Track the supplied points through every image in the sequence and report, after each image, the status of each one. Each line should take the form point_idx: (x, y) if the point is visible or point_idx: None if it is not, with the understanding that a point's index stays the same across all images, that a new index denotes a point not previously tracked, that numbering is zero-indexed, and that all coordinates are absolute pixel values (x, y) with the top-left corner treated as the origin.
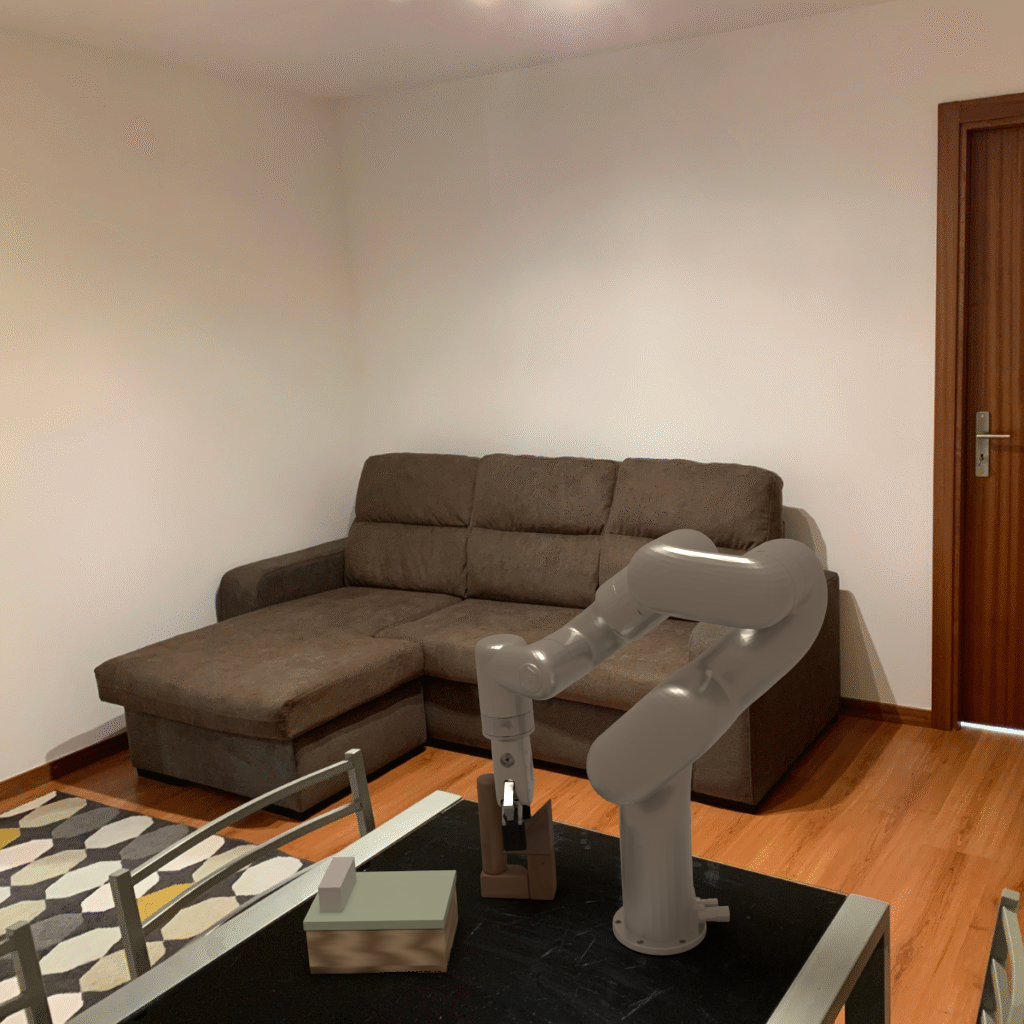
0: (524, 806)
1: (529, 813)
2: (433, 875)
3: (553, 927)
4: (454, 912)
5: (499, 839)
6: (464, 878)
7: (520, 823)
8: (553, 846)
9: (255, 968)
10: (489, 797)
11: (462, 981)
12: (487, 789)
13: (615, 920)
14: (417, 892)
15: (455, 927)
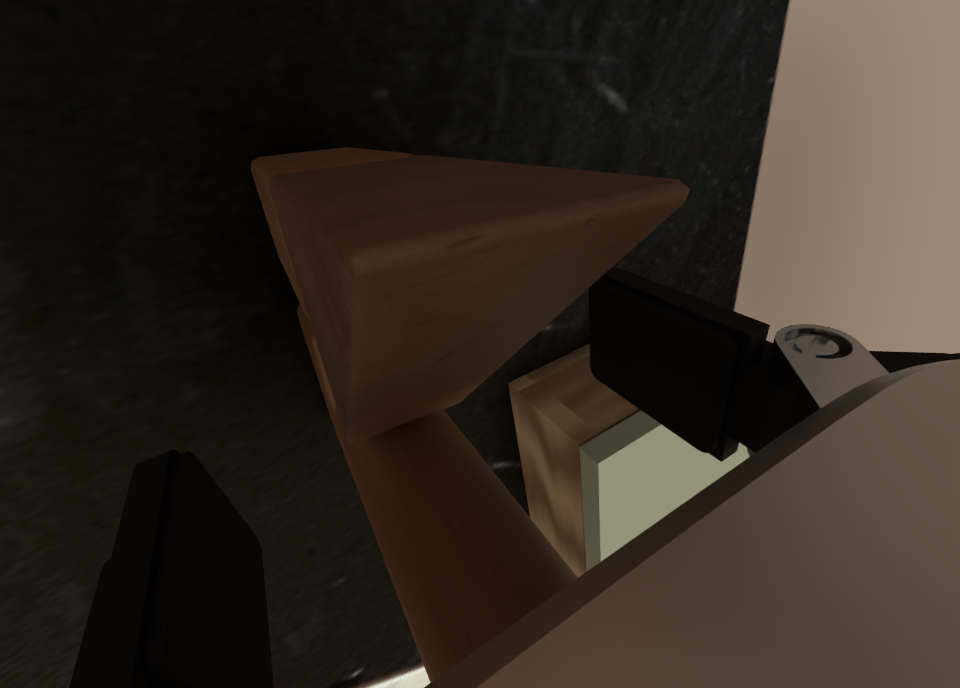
0: (202, 558)
1: (184, 476)
2: (621, 494)
3: (506, 105)
4: (575, 386)
5: (473, 454)
6: (310, 488)
7: (828, 336)
8: (297, 170)
9: None
10: None
11: (681, 266)
12: None
13: None
14: (683, 470)
15: (552, 368)
